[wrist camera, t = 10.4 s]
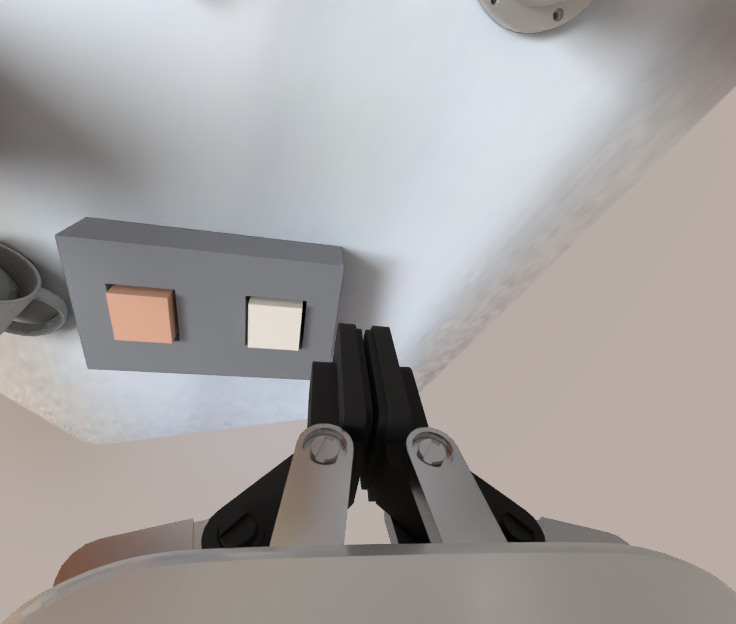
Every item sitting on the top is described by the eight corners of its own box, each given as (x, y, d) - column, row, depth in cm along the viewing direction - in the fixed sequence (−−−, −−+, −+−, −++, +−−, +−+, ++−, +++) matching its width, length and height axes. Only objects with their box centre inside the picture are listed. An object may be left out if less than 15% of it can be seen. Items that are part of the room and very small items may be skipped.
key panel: (341, 246, 40) (344, 265, 36) (326, 353, 47) (327, 380, 43) (85, 217, 36) (54, 235, 31) (110, 340, 42) (87, 368, 38)
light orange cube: (183, 275, 38) (167, 298, 34) (186, 317, 41) (171, 343, 37) (128, 270, 37) (105, 293, 33) (135, 313, 40) (114, 339, 36)
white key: (303, 286, 41) (302, 308, 37) (299, 325, 43) (298, 350, 39) (255, 281, 40) (248, 304, 36) (254, 322, 42) (247, 347, 38)
